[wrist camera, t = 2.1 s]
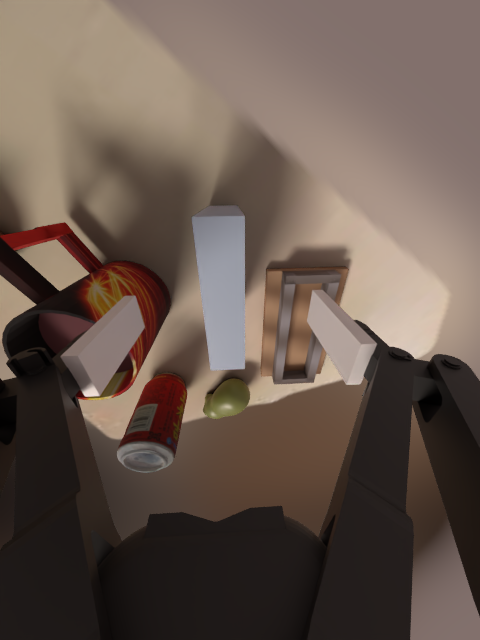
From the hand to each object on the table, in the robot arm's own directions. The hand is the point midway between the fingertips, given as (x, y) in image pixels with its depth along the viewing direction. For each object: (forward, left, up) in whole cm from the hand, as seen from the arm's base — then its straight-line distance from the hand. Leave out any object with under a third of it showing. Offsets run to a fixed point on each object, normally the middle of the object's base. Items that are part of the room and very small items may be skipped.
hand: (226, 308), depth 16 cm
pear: (+23, -1, -12) cm, 26 cm away
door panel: (0, 0, -11) cm, 11 cm away
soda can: (+21, -11, -11) cm, 26 cm away
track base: (+10, +10, -11) cm, 18 cm away
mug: (+3, -14, -11) cm, 18 cm away
